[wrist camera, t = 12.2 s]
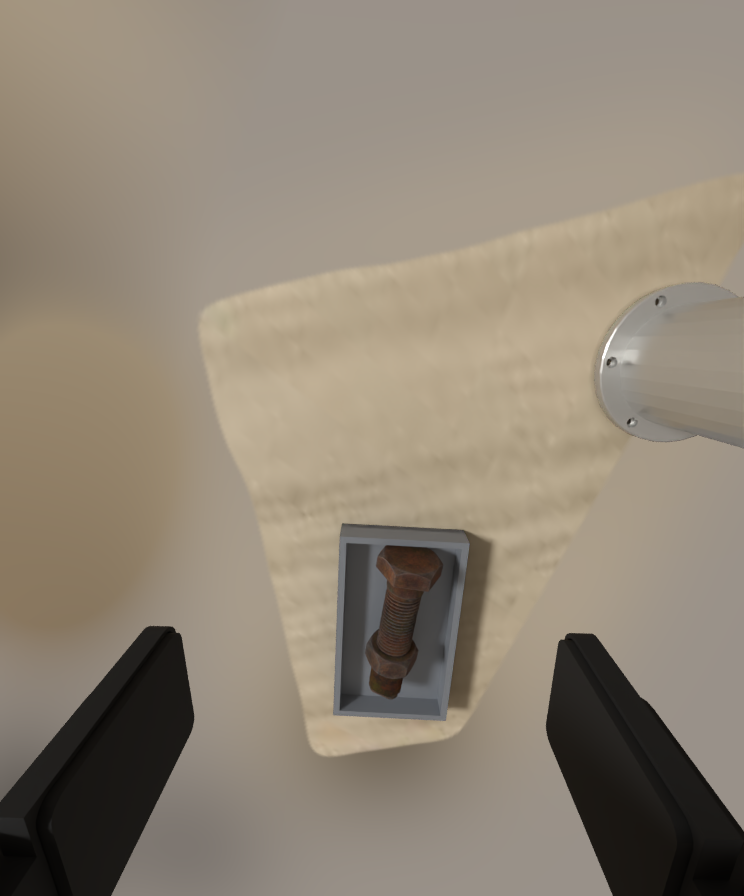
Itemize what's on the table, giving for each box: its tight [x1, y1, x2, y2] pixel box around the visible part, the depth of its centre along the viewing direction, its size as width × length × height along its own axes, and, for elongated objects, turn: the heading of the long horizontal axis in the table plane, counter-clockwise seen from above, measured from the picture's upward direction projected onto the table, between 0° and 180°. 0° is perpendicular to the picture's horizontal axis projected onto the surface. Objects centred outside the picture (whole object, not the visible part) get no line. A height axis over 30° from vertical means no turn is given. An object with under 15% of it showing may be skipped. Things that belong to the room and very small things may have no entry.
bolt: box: [365, 545, 443, 700], centre depth 36 cm, size 6×5×15 cm
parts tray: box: [333, 524, 470, 721], centre depth 38 cm, size 11×20×2 cm, turn 177°
